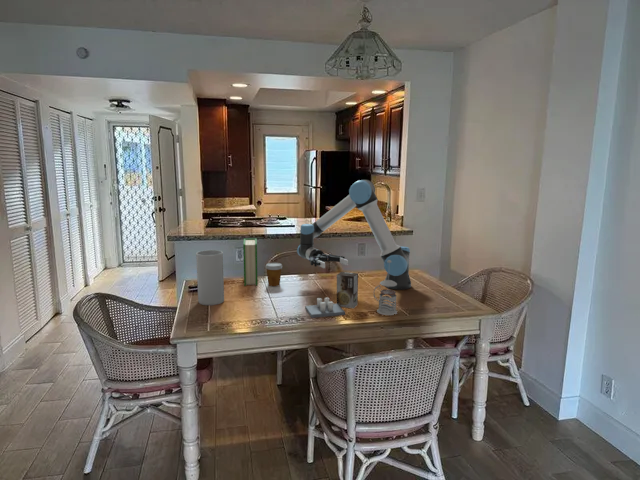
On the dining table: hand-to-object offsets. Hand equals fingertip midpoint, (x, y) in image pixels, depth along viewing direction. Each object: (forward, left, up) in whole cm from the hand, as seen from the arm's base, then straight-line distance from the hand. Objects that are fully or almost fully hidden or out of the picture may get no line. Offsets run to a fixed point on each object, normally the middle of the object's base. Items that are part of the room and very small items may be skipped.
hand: (336, 264), depth 212 cm
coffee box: (-3, +10, -19) cm, 21 cm away
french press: (-18, +22, -19) cm, 34 cm away
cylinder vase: (+61, -11, -19) cm, 65 cm away
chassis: (+10, +16, -19) cm, 26 cm away
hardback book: (+38, -43, -19) cm, 61 cm away
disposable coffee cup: (+26, -33, -19) cm, 46 cm away
